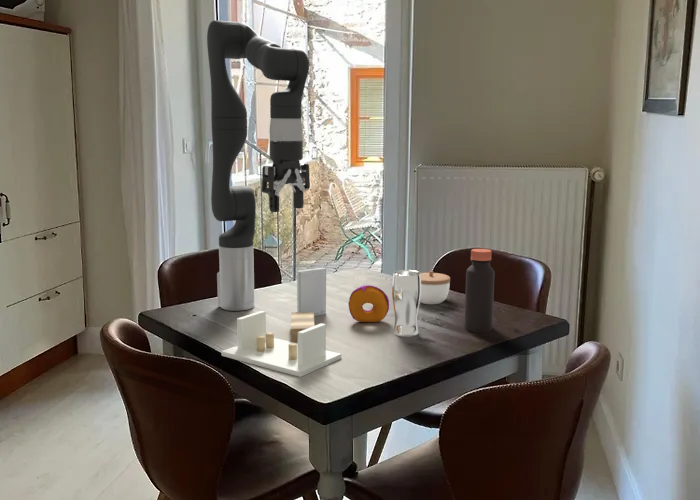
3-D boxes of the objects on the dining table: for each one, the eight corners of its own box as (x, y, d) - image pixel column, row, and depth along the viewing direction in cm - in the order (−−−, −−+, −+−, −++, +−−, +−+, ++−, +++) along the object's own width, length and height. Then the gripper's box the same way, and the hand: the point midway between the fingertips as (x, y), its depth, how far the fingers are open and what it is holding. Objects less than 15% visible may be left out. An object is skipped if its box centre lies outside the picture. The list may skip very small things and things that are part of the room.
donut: (360, 317, 184) (361, 279, 182) (392, 322, 180) (392, 284, 178) (345, 324, 177) (345, 285, 176) (377, 330, 173) (378, 290, 171)
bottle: (474, 324, 178) (478, 246, 174) (497, 330, 173) (501, 250, 170) (458, 329, 173) (461, 250, 170) (481, 335, 169) (484, 254, 165)
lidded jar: (455, 302, 200) (456, 269, 199) (439, 310, 191) (440, 276, 190) (421, 296, 206) (422, 265, 204) (404, 304, 197) (405, 271, 195)
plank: (291, 327, 175) (291, 312, 174) (313, 327, 176) (313, 312, 175) (290, 345, 161) (290, 328, 161) (314, 345, 162) (314, 328, 161)
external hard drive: (326, 314, 187) (326, 268, 184) (299, 318, 182) (299, 271, 180) (323, 312, 188) (323, 267, 186) (296, 317, 183) (296, 270, 181)
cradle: (221, 355, 153) (220, 320, 151) (264, 339, 164) (264, 306, 163) (300, 376, 141) (300, 338, 139) (341, 358, 152) (341, 322, 150)
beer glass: (400, 339, 165) (402, 277, 163) (385, 331, 172) (387, 271, 169) (425, 335, 169) (427, 274, 166) (410, 327, 175) (411, 268, 172)
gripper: (293, 138, 167) (293, 206, 170) (252, 139, 156) (253, 211, 159) (318, 138, 163) (318, 208, 166) (278, 139, 152) (279, 214, 155)
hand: (286, 210), depth 162 cm, fingers open, 8 cm apart
